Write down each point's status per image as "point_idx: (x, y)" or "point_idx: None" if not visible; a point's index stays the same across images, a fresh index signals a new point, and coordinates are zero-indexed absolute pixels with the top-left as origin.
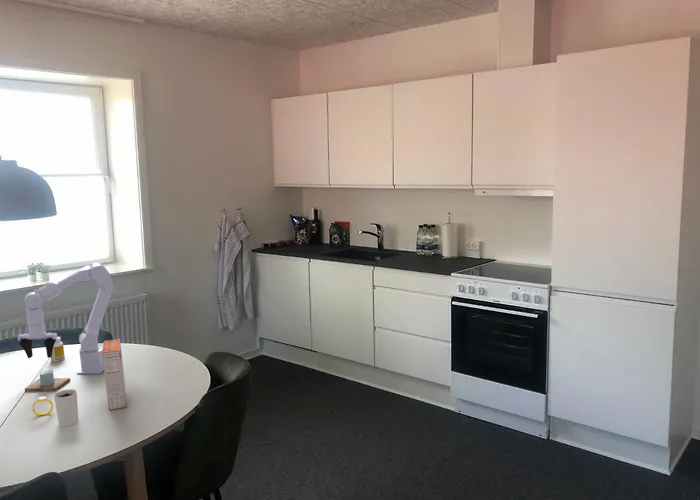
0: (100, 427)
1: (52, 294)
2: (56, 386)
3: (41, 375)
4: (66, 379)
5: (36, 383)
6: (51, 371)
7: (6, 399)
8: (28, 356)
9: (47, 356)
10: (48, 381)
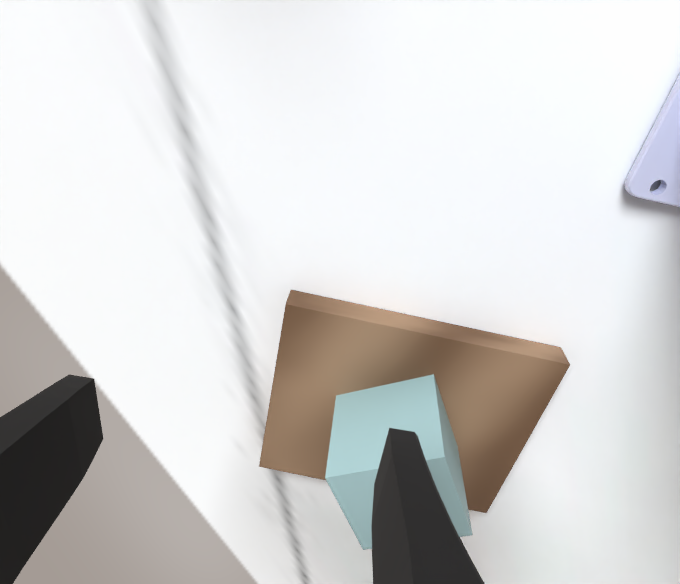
0: None
1: None
2: (485, 490)
3: None
4: (543, 388)
5: (306, 405)
6: (449, 510)
7: (209, 516)
8: (77, 467)
9: (375, 505)
10: None
